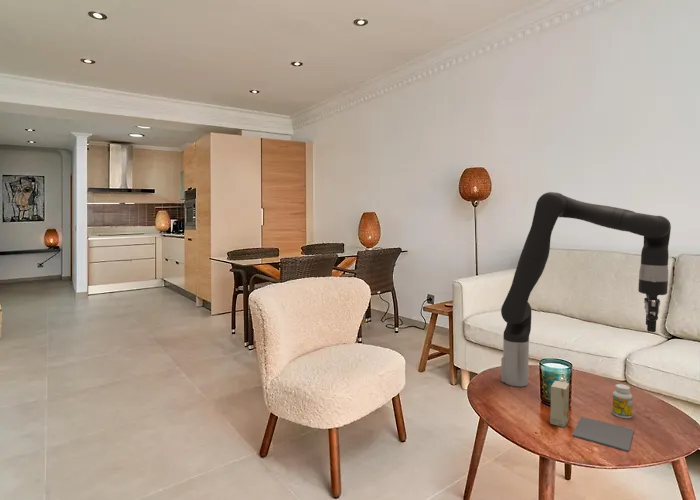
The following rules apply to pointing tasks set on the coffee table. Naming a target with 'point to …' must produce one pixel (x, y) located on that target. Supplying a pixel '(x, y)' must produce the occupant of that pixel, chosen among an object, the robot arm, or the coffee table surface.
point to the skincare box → (559, 403)
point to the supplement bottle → (622, 401)
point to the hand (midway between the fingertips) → (650, 328)
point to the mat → (604, 433)
